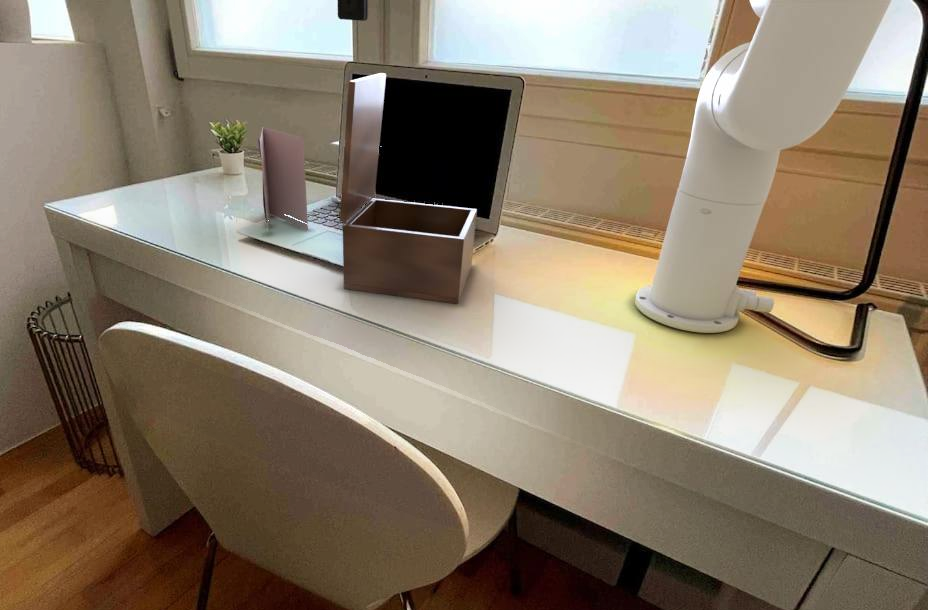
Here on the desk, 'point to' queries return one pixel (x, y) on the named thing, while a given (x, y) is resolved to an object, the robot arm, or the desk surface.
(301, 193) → the greeting card
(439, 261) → the box
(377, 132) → the box lid
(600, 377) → the desk surface
